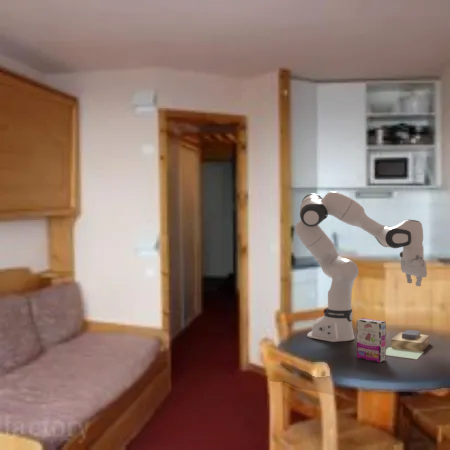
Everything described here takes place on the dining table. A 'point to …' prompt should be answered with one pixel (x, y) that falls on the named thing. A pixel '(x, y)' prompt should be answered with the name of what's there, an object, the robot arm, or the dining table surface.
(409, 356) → the mat
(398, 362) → the dining table surface
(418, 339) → the square wooden plank
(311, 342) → the dining table surface
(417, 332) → the grey flat block
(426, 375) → the dining table surface
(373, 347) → the candy bar box
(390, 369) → the dining table surface
